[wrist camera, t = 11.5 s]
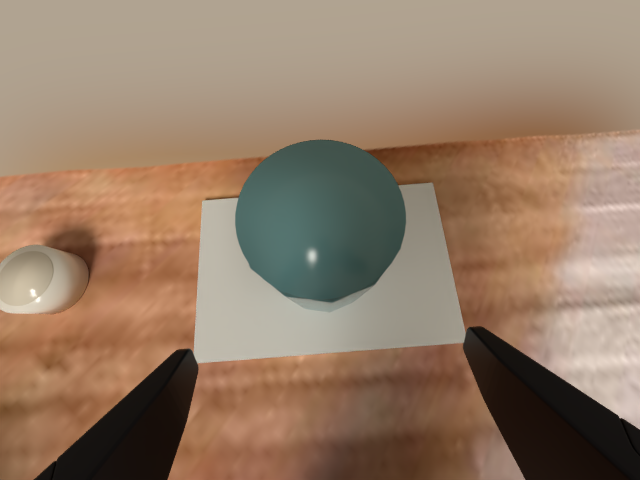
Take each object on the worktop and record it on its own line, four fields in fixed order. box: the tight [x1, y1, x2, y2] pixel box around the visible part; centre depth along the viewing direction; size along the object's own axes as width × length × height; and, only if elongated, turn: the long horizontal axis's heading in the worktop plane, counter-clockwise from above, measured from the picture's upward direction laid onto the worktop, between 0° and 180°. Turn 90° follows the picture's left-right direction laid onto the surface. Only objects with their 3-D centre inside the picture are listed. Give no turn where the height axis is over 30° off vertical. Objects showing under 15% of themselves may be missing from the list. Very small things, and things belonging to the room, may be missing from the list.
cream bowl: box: [0, 245, 89, 314], centre depth 21 cm, size 5×5×3 cm
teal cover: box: [235, 140, 406, 312], centre depth 16 cm, size 7×7×11 cm
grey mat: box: [194, 183, 466, 363], centre depth 22 cm, size 20×13×1 cm, turn 94°
